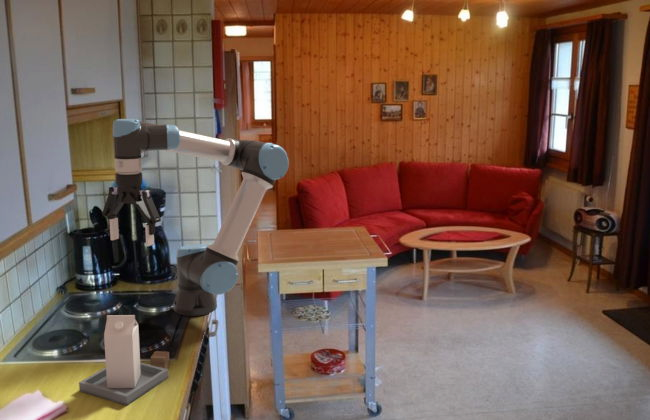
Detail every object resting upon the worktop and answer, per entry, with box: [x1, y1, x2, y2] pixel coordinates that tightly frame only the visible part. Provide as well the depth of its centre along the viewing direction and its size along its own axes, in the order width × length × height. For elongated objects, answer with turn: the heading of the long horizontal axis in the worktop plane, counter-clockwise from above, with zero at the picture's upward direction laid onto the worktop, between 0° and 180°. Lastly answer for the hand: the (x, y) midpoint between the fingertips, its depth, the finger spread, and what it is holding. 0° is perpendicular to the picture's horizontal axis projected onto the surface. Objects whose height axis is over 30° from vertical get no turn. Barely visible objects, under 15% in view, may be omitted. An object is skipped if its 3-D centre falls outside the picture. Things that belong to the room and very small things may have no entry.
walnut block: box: [150, 350, 170, 369], centre depth 172 cm, size 4×4×4 cm
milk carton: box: [103, 314, 141, 388], centre depth 160 cm, size 7×7×19 cm
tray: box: [78, 361, 169, 406], centre depth 162 cm, size 16×16×2 cm
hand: (132, 242), depth 182 cm, fingers open, 13 cm apart
